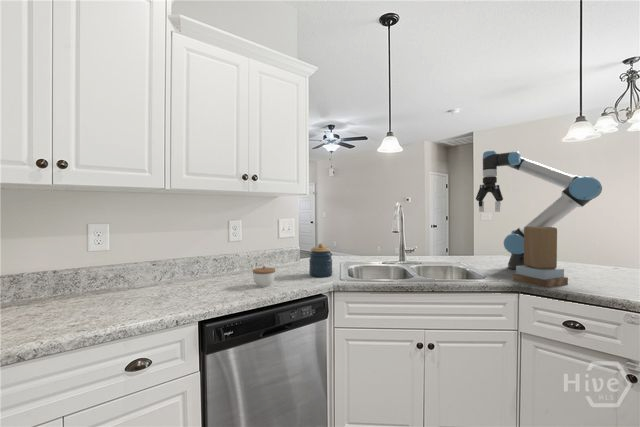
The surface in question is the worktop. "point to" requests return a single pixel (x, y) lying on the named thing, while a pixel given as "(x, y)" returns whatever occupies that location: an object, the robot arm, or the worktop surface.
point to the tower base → (541, 281)
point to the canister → (320, 261)
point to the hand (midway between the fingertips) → (489, 211)
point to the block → (540, 247)
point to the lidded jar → (263, 276)
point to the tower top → (540, 272)
